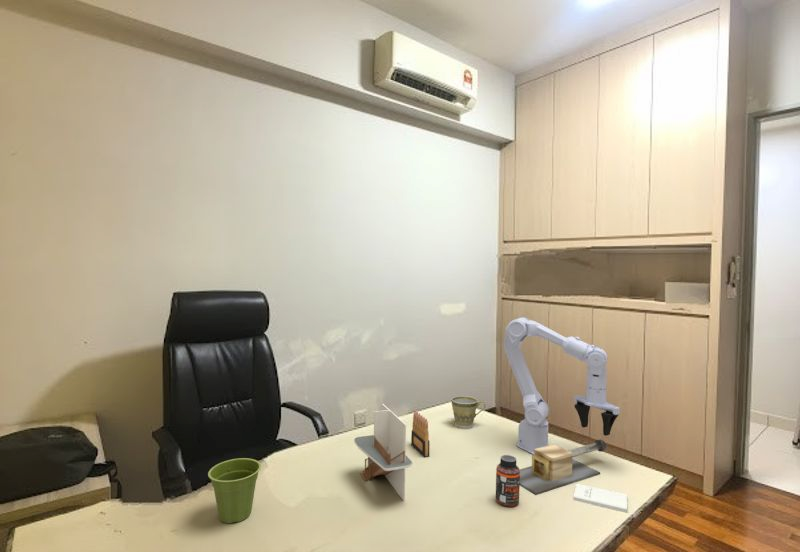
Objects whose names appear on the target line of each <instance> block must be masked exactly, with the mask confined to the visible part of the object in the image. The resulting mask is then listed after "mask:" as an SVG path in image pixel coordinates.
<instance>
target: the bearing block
mask: <svg viewBox="0 0 800 552" xmlns="http://www.w3.org/2000/svg"><path fill="white" fill-rule="evenodd" d="M534 454H538V455H540V456H542V457H545V458H547V459H548V460H550V480H548V481H545V480H543V479H541V478H539V477H538V476H536V475H534V474H532V465H531V466H527V467H524V468H521V469H520V468H519V469H520V487H522V488H524V489H525V490H527V491H529V492H530V493H532V494H533V495H535V496H537V495H540V494H543V493H546V492H549V491H552V490H556V489H559V488H561V487H565V486H567V485H570V484H573V483H577V482H580V481H583V480H586V479H589V478H591V477H595V476H598V475H600V474H601V471H599V470H596V469H594V468H593V467H590V466H588V465H586V464H585V463H582V462H580V461H578V460H575V459H574V458H573V457H572V453H571V452H569V451H568V450H567V449H564V448H562V447H560V446H558V445H556V444H548V446H545V447H541V448H537V449H534ZM538 470H539V471H541V472H542V473H544V464H543V463H541V462H539V461H538Z"/></svg>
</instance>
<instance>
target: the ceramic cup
mask: <svg viewBox="0 0 800 552" xmlns="http://www.w3.org/2000/svg"><path fill="white" fill-rule="evenodd" d="M478 401H479V400H478V399H477V398H475V397H473V396H469V395H458V396H453V397H451V406H452V411H453V417H454V425H455V427H457V428H459V429H465V430H466V429H471V428H473V425H474V422H475V419H476V416H478V415H479V414H480V413H481V412H483V411H484V410H485V409H486V404H485V403H484V402H482V401H480V402H478ZM480 405H483V406H484V407H483V408H482V409H481V410H479V411H478V412H476V410H477V409H478V407H479V406H480Z"/></svg>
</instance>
